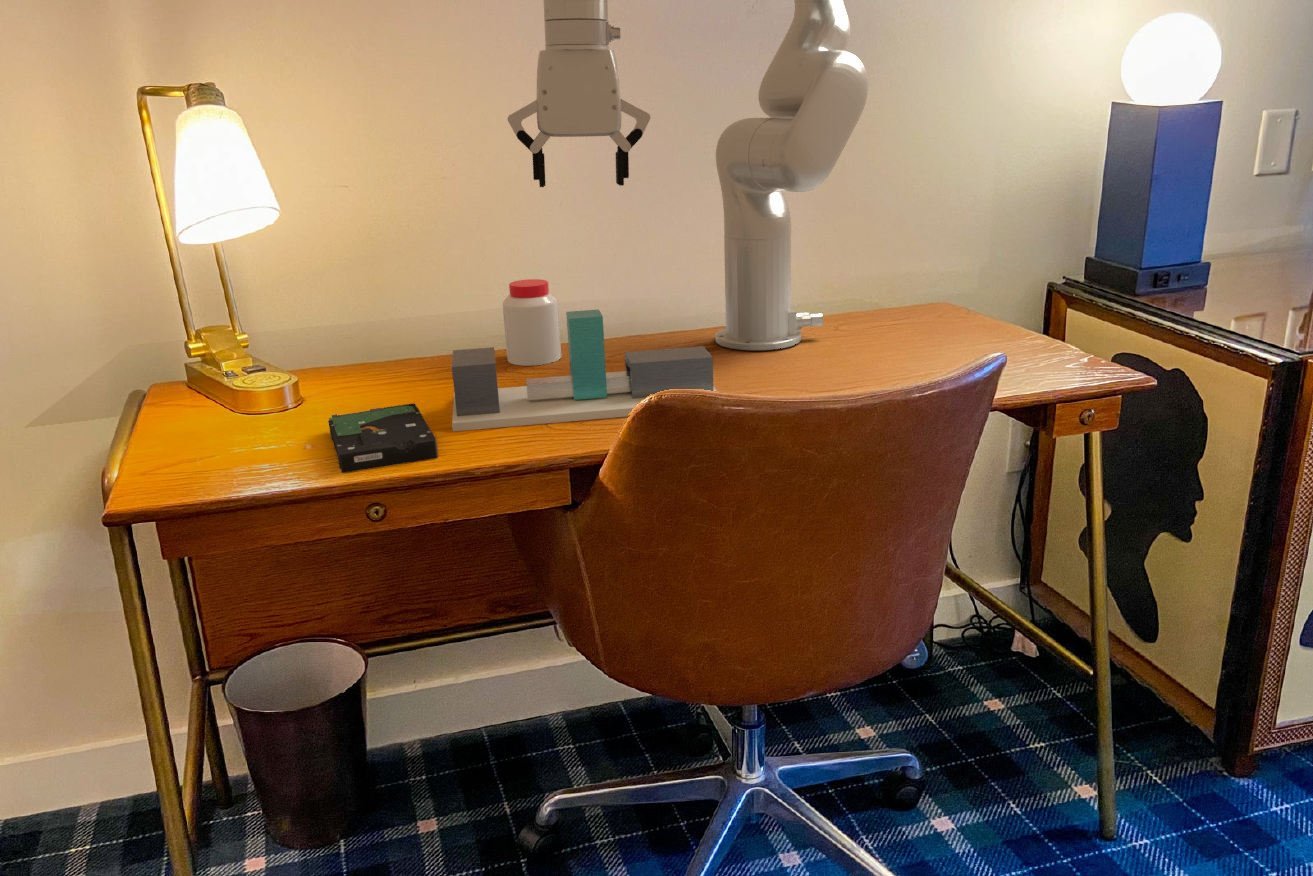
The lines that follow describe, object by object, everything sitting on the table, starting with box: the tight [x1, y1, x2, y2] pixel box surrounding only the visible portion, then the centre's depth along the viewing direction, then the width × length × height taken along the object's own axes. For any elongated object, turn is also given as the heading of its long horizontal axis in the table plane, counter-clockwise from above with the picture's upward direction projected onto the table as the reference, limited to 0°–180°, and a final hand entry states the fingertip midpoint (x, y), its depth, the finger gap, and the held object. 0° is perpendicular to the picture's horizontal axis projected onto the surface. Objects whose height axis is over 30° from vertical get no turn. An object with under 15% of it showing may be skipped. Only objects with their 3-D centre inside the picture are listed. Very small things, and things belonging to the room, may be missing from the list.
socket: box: [451, 346, 500, 416], centre depth 128 cm, size 5×8×6 cm, turn 9°
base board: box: [451, 385, 718, 432], centre depth 131 cm, size 32×13×1 cm, turn 99°
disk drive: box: [327, 403, 439, 474], centre depth 119 cm, size 10×3×15 cm
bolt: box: [525, 309, 631, 400], centre depth 130 cm, size 21×4×10 cm, turn 99°
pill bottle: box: [502, 278, 562, 367], centre depth 151 cm, size 8×8×11 cm
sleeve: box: [624, 345, 714, 399], centre depth 131 cm, size 10×6×4 cm, turn 99°
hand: (581, 185), depth 132 cm, fingers open, 9 cm apart
